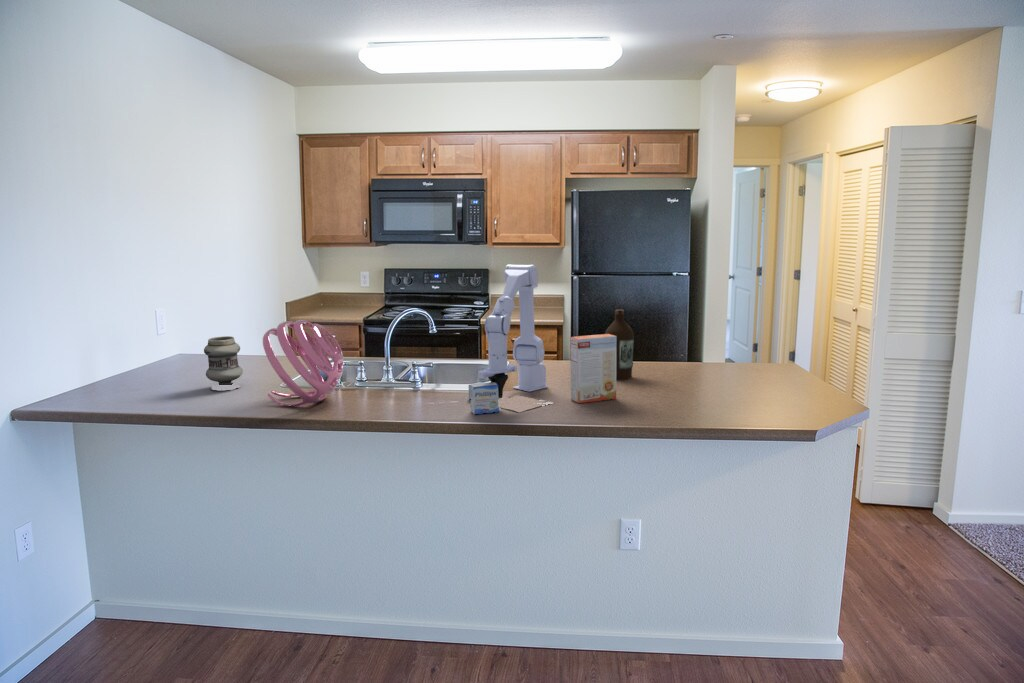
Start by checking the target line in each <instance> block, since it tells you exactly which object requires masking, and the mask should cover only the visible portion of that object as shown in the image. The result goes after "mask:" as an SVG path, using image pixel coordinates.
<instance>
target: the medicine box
mask: <svg viewBox="0 0 1024 683" xmlns="http://www.w3.org/2000/svg"><path fill="white" fill-rule="evenodd" d="M469 385H470V398H471V400H470V412H471V413H472V414H473V415H475V414H479V415H484V414H483V413H487V414H494V413H493V412H495V413H499V412H500V408H499V399H500V398H499V397H498V385H497V384H496V383H495V382H491V381H490V382H481V383H480V384H475V383H471V384H469Z"/></svg>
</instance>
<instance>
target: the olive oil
mask: <svg viewBox="0 0 1024 683" xmlns="http://www.w3.org/2000/svg"><path fill="white" fill-rule="evenodd" d="M614 312H615V313H614V321H612V323H611V324H610V325H609V326H608V327H607V328H606V330H605V333H604V334H611V335H614V336H617V340H616V381H624V380H625V381H626V380H630V379H632V376H633V372H632V371H633V366H634V362H633V358H634V346H635V345H634V343H635V342H634V341H635V334H634V331H633V329H632V327H630V325H629V324H628V323H627V322H626V321H625V309H615V310H614Z"/></svg>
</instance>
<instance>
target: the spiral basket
mask: <svg viewBox="0 0 1024 683" xmlns="http://www.w3.org/2000/svg"><path fill="white" fill-rule="evenodd" d="M303 324H304V325H306V326H307V327H308V328H310V329H311V330H312V331H311V332H312V334H313V336H314V337H313V336H312V335H311V334H310V333H309V332H308V331H307V330H305V329H304V325H303ZM286 327H289V328H291V329H293V330H294V334H295V335H296V338H297V340H298V341H297V340H296V339H295V338H293V337H292V336H291V335H289V334H288V333H287V332H286V330H285V329H286ZM322 331H323V332H324V333H325V334H324V333H323V332H322ZM270 335H273V336H276V337H277V340H278V342H279V345H280V347H281V350H282V351H283V353H284V355H285V357H286V358H287V360H288V361H289V362H290V364H291V365H292V367H293V368H294V369H295V371H296V372H297V373H298V374H299V375H300V377H301V378H303V380H304V381H305V382H306V383H308V384H309V385H310V386H311V387H312V388H314V389H312V390H309V391H304V390H303V389H302V388H301V387H300V386H299V385H298V384H297V383H296V382H295V381H294V380H293V379H292V378H291V377H290V375H289V374H288V373H287V372H286V370H285V369H284V368H283V366H282V365H281V363H280V361H279V360H278V357H277V356H276V354H275V352H274V350H273V347H272V344H271V341H270V340H271V339H270ZM326 335H327V336H328V337H327V336H326ZM314 338H315V339H314ZM328 338H330V340H331V341H332V342H333V344H334V345H335V346H334V345H333V344H332V343H331V341H330V340H329V339H328ZM262 347H263V350H264V353H265V355H266V358H267V360H268V362H269V363H270V365H271V367H272V368H273V370H274V371H275V373H276V374H277V376H278V377H279V378H280V379H281V381H282V382H283V383H284V384H285V386H286V387H287V388H288V389H289V390H291V391H292V392H293V393H292V394H290V393H281V392H277V391H273V390H272V391H270V393H268V394H267V396H268V397H269V399H270V400H272V401H273V402H274V403H276V404H277V405H280V404H283V405H291V406H296V407H301V406H300V405H302V406H305V405H310V404H318V402H319V403H321V402H322V401H323V400H324V399H326V396H327V395H328V394H331V393H333V392H334V390H335V389H336V387H337V386H338V380H339V379H341V377H342V376H343V371H344V353H343V350H342V348H341V346H340V344H339V342H338V341H337V340H336V338H335V337H334V336H333V334H332V333H331V332H330V331H329V330H328V329H327V328H325V327H324V326H323V325H321V324H320V323H319V324H318V323H312V322H311V321H308V320H306V319H298V320H295V321H290V320H289V321H288V320H287V321H283V322H280V323H279V324H278V325H277V327H276V328H274V327H273V328H270V329H268V330H267V331H265V333H264V334H263V336H262ZM294 351H295V352H296V353H295V352H294ZM297 354H298V356H299V357H300V358H301V360H302V361H303V362H301V360H300V359H299V357H298V356H297ZM329 358H330V359H331V360H332V361H333V364H332V363H331V361H330V359H329ZM303 363H304V364H305V365H306V366H305V365H304V364H303ZM320 371H321V372H322V373H323V374H324V375H326V376H327V379H326V381H324V378H323V377H322V374H321V372H320ZM271 394H273V395H275V396H278V397H282V398H285V397H291V396H299V397H300V398H299V399H301V401H299V402H293V403H292V402H291V403H289V402H287V403H286V402H283V401H280V400H278V399H277V398H275V397H274V396H273V395H271ZM320 401H321V402H320ZM283 405H282V406H283Z"/></svg>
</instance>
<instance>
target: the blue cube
mask: <svg viewBox="0 0 1024 683" xmlns="http://www.w3.org/2000/svg"><path fill="white" fill-rule="evenodd" d="M480 383H482V382H475V383H474V384H480ZM469 399H471V398H470V384H468V400H469Z"/></svg>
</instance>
